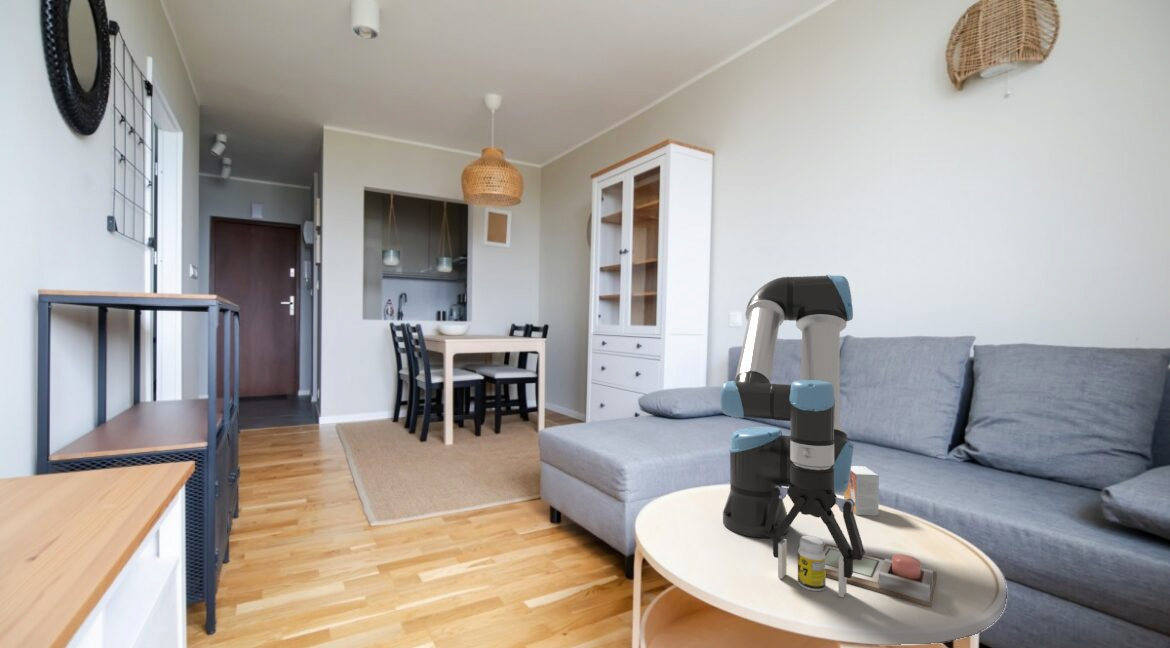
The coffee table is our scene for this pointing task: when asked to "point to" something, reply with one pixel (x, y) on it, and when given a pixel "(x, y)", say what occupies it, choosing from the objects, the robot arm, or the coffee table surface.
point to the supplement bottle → (811, 564)
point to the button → (906, 567)
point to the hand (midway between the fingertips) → (811, 584)
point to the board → (882, 577)
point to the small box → (863, 491)
